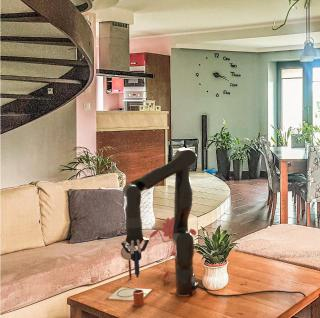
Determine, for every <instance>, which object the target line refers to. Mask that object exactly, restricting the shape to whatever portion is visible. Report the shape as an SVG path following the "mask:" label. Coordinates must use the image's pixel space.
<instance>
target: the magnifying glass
mask: <svg viewBox="0 0 320 318" xmlns="http://www.w3.org/2000/svg"><path fill="white" fill-rule="evenodd" d="M126 246H127V248H128V249H129V250H130V245H129V244H126ZM133 250H137V248H136V246H134V248H133ZM120 255H121V257H122V258H123V259H124V260H126V261H128V275H129V276H128V277H129V279H130V280H131V279H132V262H131V261H132V260H131V254H130V253H127V252H126V251H125V249H124V248H123V247H122V248H121V250H120Z"/></svg>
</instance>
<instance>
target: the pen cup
mask: <svg viewBox="0 0 320 318" xmlns="http://www.w3.org/2000/svg"><path fill="white" fill-rule="evenodd" d="M141 289H142V288H140V289H138V290H135V291H133V297H134V300H133V306H135V307H141V306H143V305H145V297H144V294H143V290H141Z"/></svg>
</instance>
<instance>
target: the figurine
mask: <svg viewBox="0 0 320 318" xmlns="http://www.w3.org/2000/svg"><path fill="white" fill-rule="evenodd" d="M173 228H174V216H173V217H171V218H169V217H166V219H165V222H162V228H161V230H160V229H159V228H157V229H155V230H154V231H153V232H151V234H150V235H149V239H152V238H153V237H155V236H156V235H157V234H159V237H160V238H161V240H162V243H168V242H171V241H172V242H173V240H172V235H173ZM188 232H189V233H190V234H191V235H192V236H193V237H194V236H196V235H197V231H196V229H193V228H190V229H189V230H188ZM161 233H163V236H162V234H161ZM164 237H165V238H167V237H168V239H169V240H164ZM175 249H176V245H175V244H174V243H173V249H172V251H171V252H170V253H171V254H170V256H169V257H167V258H166V260H165V267H166V269H168V262H167V261H168V260H169V259H170V257H175V256H176V250H175ZM170 273H171V272H170V270H166V272H165V273H162V274H161V276H162V275H163V278H162V279H163V280H166V278H167V281H168V283H171V282H170V281H171V280H170ZM159 277H160V275H158V276H157V278H159Z"/></svg>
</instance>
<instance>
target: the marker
mask: <svg viewBox="0 0 320 318" xmlns="http://www.w3.org/2000/svg"><path fill="white" fill-rule="evenodd" d="M133 253H134V261H133V265H134V275H135V276H136V278H139V277H140V276H139V275H140V274H141V273H140V260H139V257H138V249H136V250H133Z"/></svg>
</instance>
